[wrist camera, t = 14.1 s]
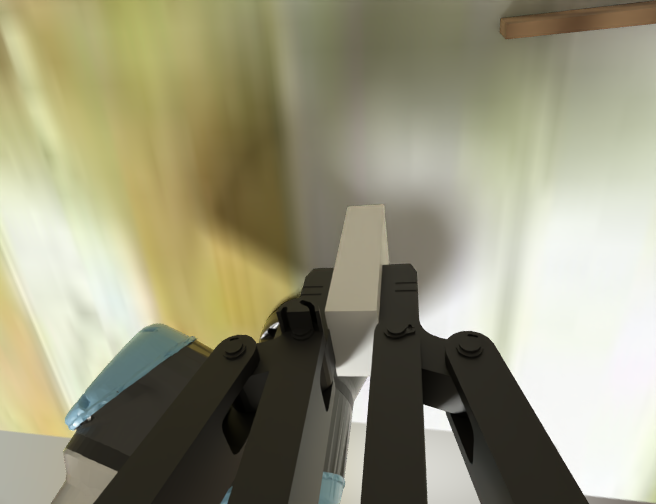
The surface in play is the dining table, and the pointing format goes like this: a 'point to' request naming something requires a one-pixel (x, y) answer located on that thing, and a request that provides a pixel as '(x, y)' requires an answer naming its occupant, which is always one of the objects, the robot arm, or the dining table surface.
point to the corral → (579, 20)
